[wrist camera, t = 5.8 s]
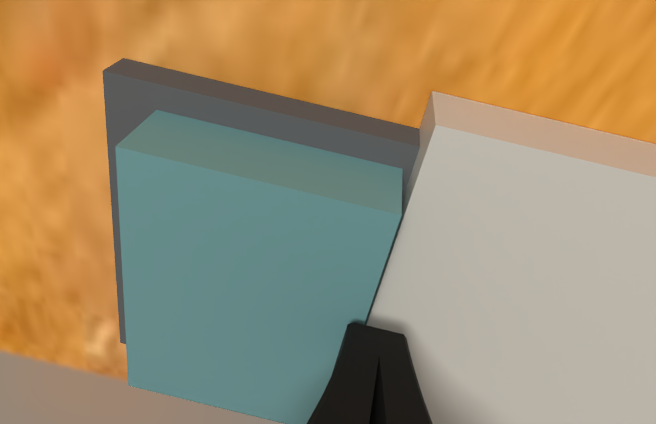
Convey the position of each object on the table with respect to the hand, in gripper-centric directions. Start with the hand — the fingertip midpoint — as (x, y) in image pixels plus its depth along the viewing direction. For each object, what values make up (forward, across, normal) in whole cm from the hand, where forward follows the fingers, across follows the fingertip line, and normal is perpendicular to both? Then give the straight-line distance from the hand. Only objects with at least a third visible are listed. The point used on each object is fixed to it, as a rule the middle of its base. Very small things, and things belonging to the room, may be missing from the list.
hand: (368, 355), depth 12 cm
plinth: (+3, -7, 0) cm, 8 cm away
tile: (+2, +3, 0) cm, 4 cm away
